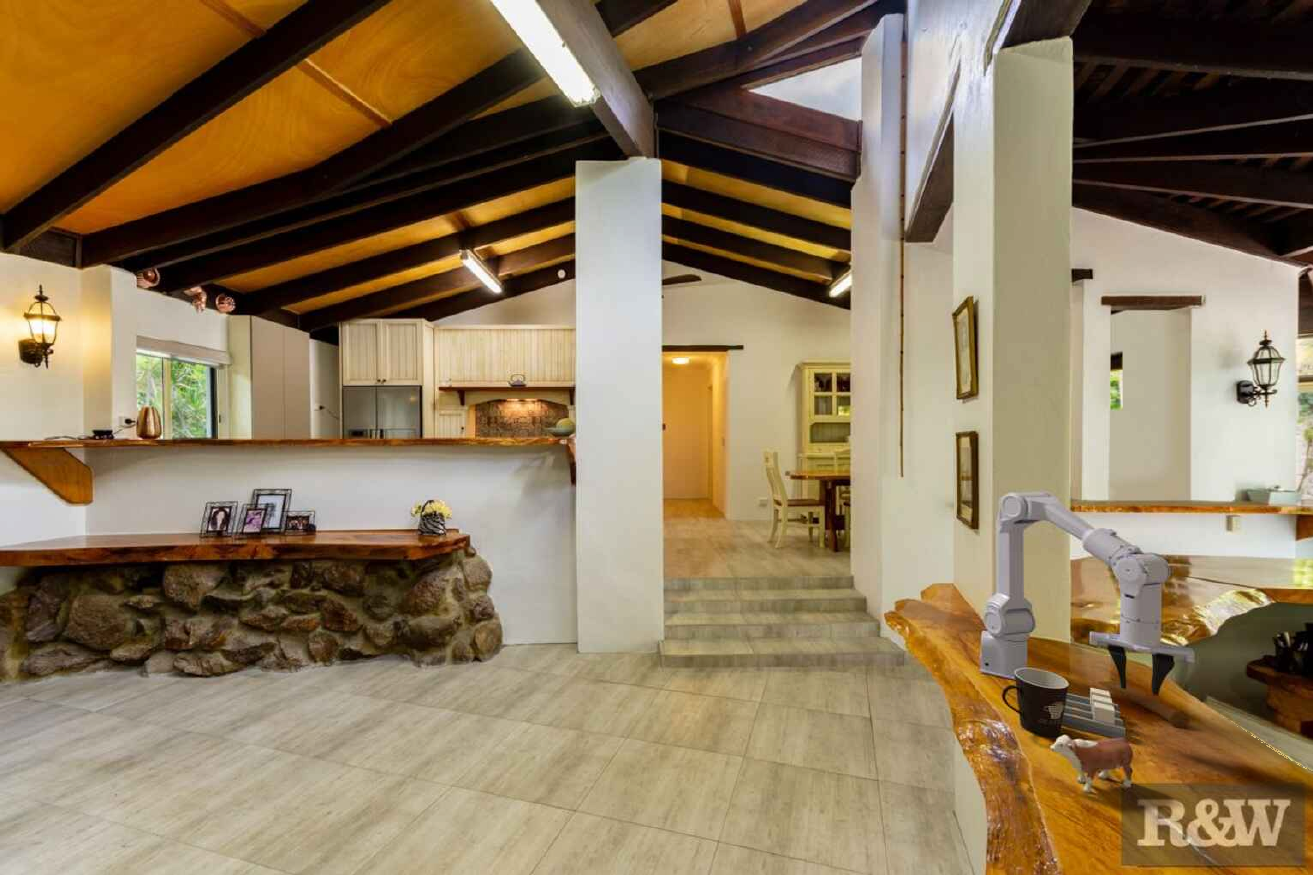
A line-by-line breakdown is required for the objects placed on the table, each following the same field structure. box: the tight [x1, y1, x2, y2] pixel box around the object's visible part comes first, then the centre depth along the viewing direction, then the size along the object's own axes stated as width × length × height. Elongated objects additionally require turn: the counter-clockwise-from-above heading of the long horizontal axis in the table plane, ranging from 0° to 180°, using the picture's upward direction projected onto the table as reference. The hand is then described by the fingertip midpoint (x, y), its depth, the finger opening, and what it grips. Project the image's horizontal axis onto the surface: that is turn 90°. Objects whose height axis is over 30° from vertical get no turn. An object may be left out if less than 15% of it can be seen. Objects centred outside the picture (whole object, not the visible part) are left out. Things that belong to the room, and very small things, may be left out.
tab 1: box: [1089, 687, 1111, 705], centre depth 111 cm, size 3×2×3 cm
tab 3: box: [1093, 702, 1115, 725], centre depth 105 cm, size 3×2×3 cm
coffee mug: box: [1001, 667, 1069, 739], centre depth 106 cm, size 12×9×10 cm
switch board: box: [1062, 692, 1127, 739], centre depth 109 cm, size 10×11×2 cm
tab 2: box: [1092, 695, 1114, 713], centre depth 108 cm, size 3×2×3 cm
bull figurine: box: [1050, 734, 1134, 795], centre depth 89 cm, size 4×13×8 cm, turn 95°
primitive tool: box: [1097, 680, 1191, 728], centre depth 116 cm, size 19×6×4 cm, turn 178°
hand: (1138, 690), depth 102 cm, fingers open, 4 cm apart
